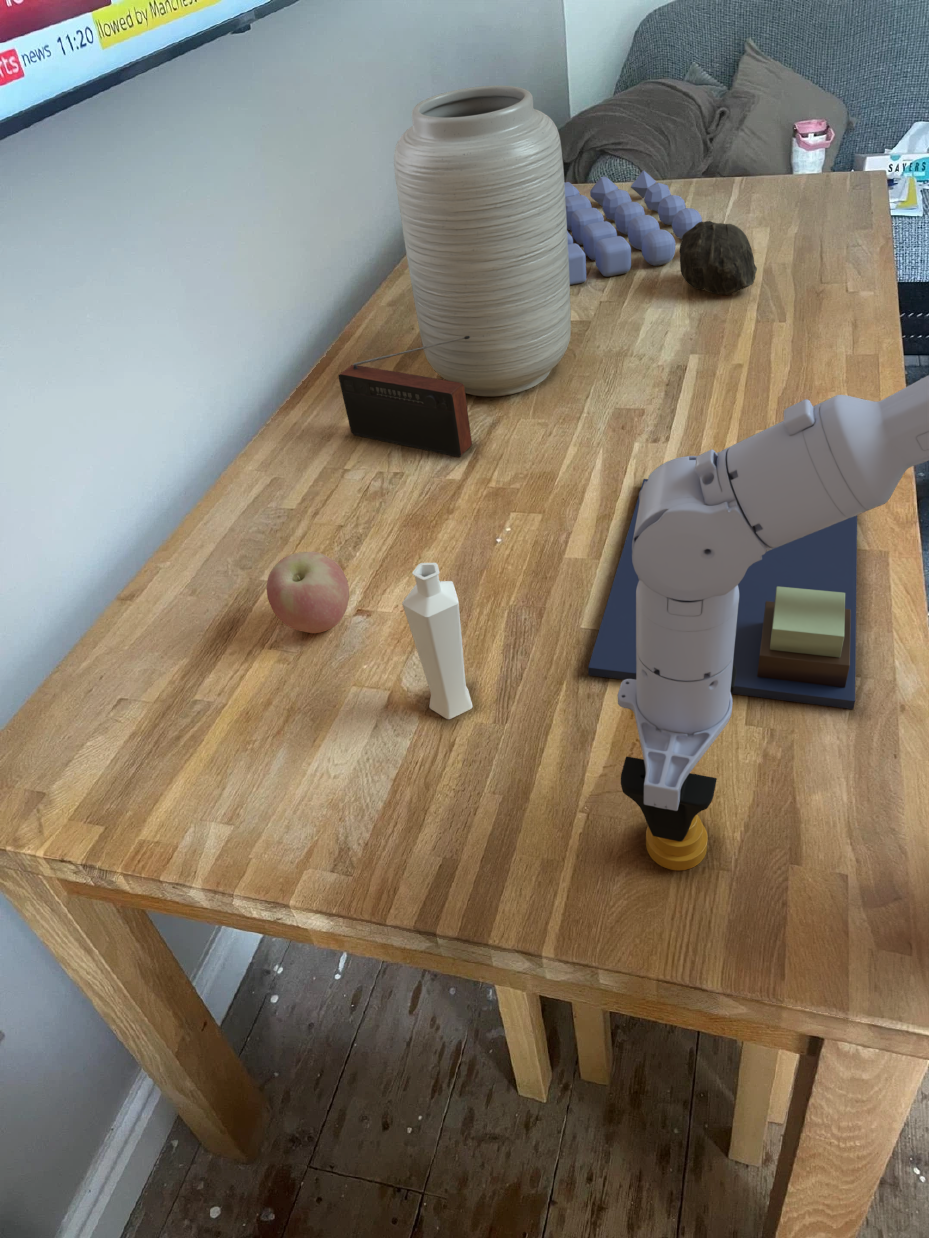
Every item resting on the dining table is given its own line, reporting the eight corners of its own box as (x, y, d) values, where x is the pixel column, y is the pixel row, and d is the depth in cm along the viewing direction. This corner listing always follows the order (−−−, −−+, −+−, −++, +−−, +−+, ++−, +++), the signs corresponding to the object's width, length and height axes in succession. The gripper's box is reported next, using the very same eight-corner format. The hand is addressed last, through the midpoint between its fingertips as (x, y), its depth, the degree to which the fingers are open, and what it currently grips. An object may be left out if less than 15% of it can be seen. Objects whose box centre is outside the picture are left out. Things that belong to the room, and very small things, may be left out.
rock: (750, 299, 134) (747, 225, 129) (672, 305, 139) (666, 235, 134) (764, 278, 141) (761, 207, 136) (689, 284, 146) (684, 217, 141)
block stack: (845, 688, 77) (854, 643, 74) (757, 677, 80) (761, 633, 76) (846, 631, 82) (855, 587, 79) (763, 622, 84) (768, 579, 81)
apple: (263, 635, 93) (241, 572, 88) (314, 591, 97) (295, 528, 92) (323, 661, 89) (303, 597, 84) (372, 613, 94) (356, 549, 88)
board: (853, 709, 77) (855, 701, 76) (588, 675, 84) (587, 667, 83) (856, 500, 98) (857, 492, 97) (643, 486, 104) (643, 478, 104)
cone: (719, 853, 68) (723, 806, 65) (668, 880, 67) (670, 834, 64) (683, 811, 72) (685, 764, 68) (634, 836, 70) (634, 789, 67)
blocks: (471, 226, 173) (467, 198, 170) (652, 192, 175) (652, 164, 172) (511, 298, 147) (508, 267, 143) (723, 257, 148) (725, 225, 145)
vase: (568, 406, 119) (552, 118, 97) (414, 411, 123) (365, 135, 101) (578, 335, 134) (567, 70, 112) (440, 341, 138) (403, 87, 116)
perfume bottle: (464, 727, 81) (440, 594, 71) (420, 715, 82) (390, 583, 73) (486, 690, 84) (466, 558, 74) (442, 679, 85) (417, 548, 76)
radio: (349, 436, 121) (324, 325, 111) (363, 424, 122) (339, 314, 113) (474, 462, 112) (458, 345, 102) (486, 449, 114) (472, 333, 104)
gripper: (642, 565, 62) (641, 705, 71) (590, 725, 53) (597, 864, 61) (752, 578, 60) (737, 720, 69) (719, 747, 50) (706, 888, 59)
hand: (678, 789), depth 65 cm, fingers open, 7 cm apart
